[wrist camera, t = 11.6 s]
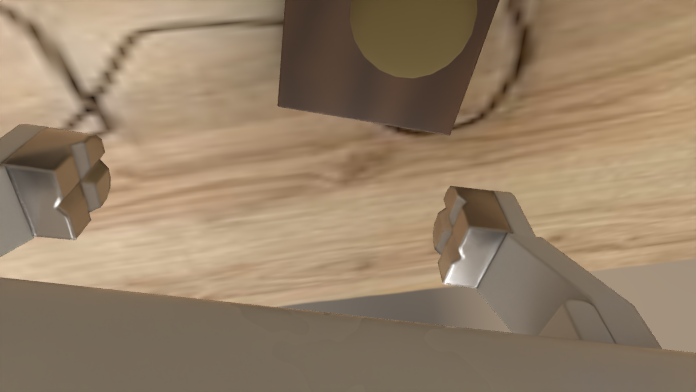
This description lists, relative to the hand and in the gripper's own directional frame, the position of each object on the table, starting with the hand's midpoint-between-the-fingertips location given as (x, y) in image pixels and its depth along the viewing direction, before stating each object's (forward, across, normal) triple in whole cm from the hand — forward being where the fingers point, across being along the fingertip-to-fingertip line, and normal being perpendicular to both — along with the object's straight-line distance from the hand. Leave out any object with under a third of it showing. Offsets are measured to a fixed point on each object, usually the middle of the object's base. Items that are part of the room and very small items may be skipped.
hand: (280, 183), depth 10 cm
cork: (+20, -4, -2) cm, 20 cm away
